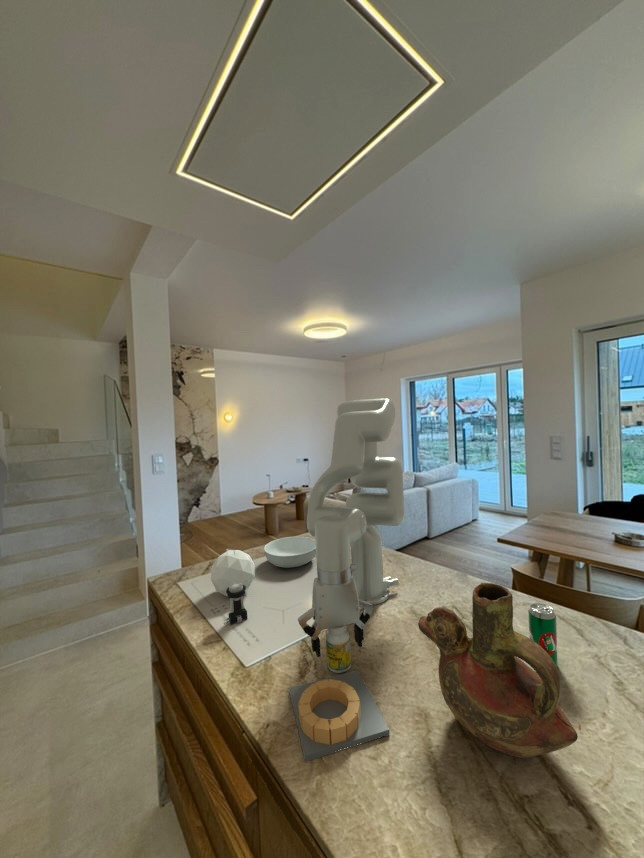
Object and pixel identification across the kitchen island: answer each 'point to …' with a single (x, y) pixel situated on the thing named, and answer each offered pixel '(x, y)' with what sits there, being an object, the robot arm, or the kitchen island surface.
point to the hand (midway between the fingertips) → (338, 648)
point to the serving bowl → (290, 551)
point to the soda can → (543, 628)
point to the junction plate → (370, 717)
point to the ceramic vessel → (498, 677)
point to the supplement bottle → (338, 649)
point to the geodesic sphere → (232, 570)
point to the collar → (331, 728)
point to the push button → (236, 603)
